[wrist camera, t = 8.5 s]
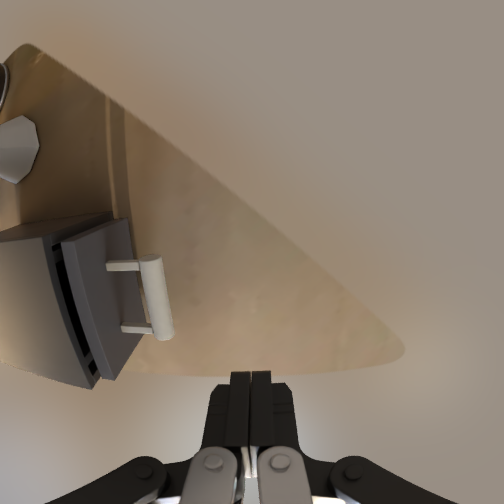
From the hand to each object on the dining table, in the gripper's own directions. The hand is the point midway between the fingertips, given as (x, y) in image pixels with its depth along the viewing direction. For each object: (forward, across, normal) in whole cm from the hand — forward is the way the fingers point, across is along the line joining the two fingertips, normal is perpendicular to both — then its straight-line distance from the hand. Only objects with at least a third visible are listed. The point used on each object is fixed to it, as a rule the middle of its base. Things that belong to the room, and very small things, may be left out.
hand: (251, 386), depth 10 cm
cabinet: (+14, +19, 0) cm, 24 cm away
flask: (+14, +24, -14) cm, 32 cm away
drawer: (+13, +14, 0) cm, 19 cm away
